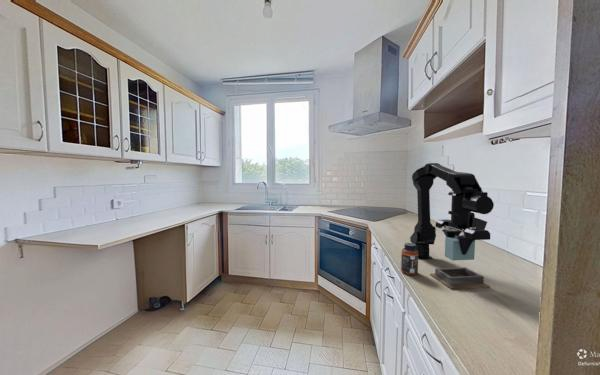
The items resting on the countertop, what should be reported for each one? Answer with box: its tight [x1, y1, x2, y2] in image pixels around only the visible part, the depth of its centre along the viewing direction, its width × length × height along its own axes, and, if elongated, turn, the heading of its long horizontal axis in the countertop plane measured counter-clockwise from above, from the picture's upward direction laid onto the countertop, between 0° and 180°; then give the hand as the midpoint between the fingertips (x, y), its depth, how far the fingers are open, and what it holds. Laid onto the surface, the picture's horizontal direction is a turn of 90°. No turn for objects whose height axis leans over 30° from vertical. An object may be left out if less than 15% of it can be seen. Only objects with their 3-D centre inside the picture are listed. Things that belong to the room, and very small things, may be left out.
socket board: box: [429, 267, 491, 290], centre depth 84 cm, size 11×14×3 cm
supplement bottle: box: [400, 242, 419, 276], centre depth 91 cm, size 6×6×11 cm
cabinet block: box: [444, 234, 476, 261], centre depth 83 cm, size 4×8×8 cm, turn 95°
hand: (459, 252), depth 84 cm, fingers closed on cabinet block, 4 cm apart
